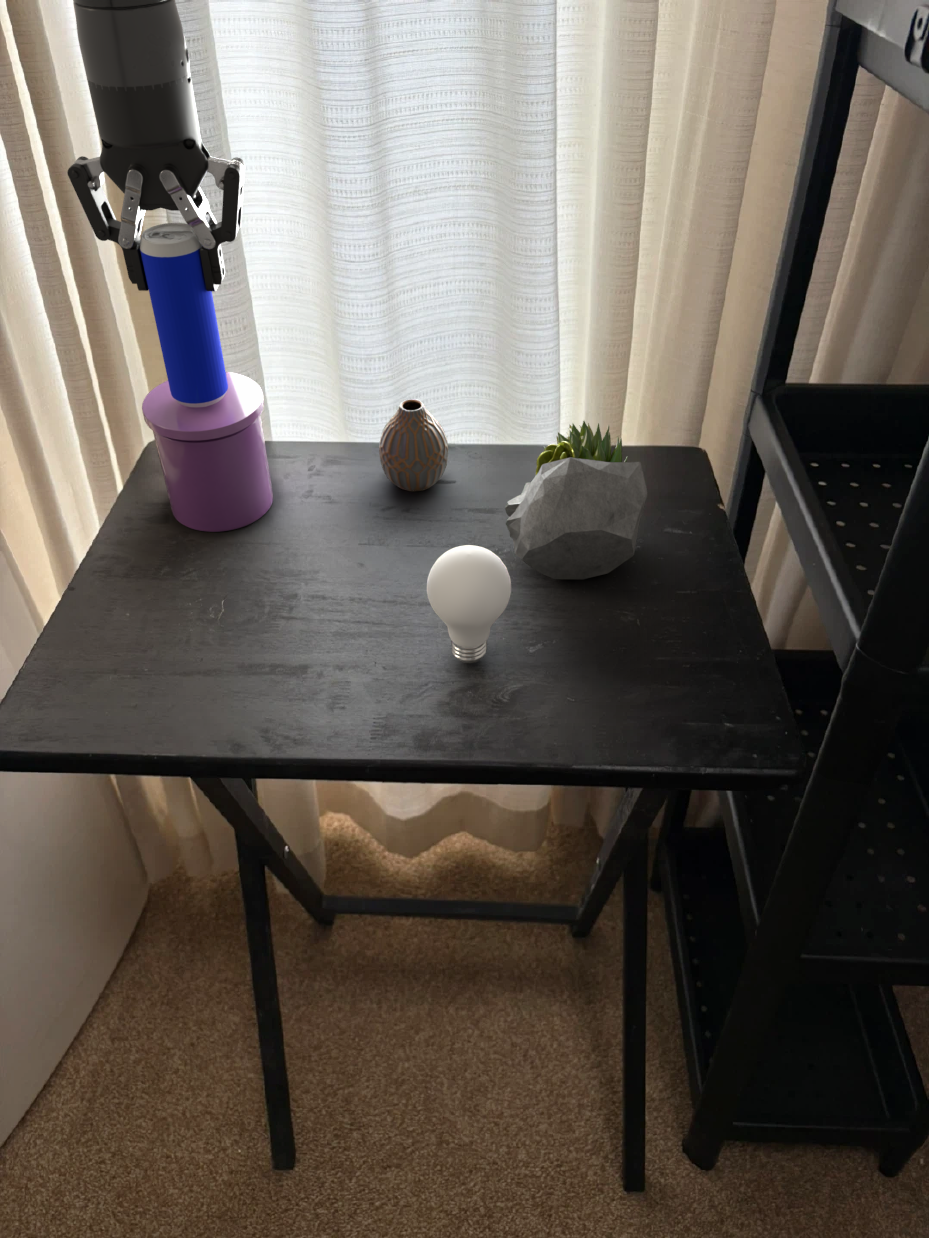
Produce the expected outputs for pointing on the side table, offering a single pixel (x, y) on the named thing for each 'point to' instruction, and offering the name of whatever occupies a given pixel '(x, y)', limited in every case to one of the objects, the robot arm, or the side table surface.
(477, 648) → the light bulb
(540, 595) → the side table surface
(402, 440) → the vase
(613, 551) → the potted plant
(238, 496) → the jar
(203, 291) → the beverage can
